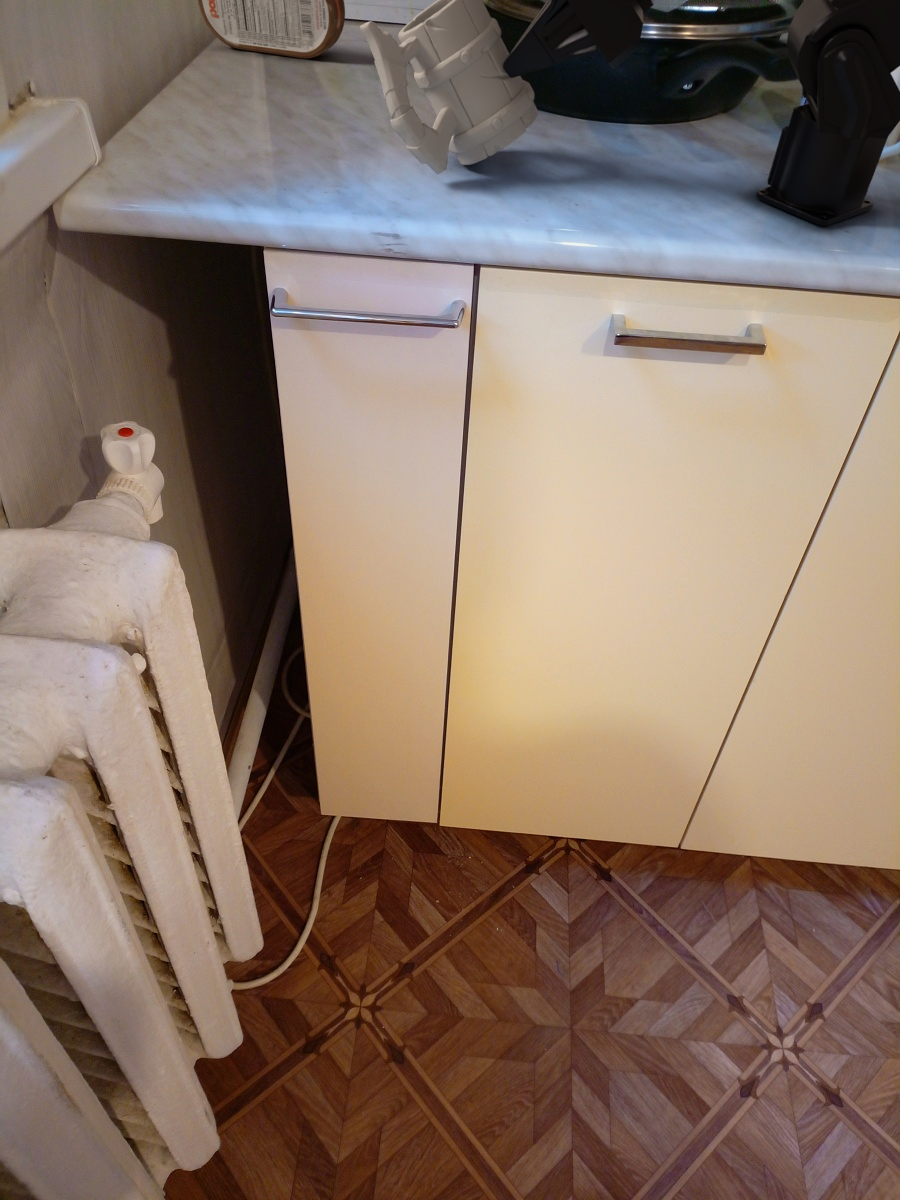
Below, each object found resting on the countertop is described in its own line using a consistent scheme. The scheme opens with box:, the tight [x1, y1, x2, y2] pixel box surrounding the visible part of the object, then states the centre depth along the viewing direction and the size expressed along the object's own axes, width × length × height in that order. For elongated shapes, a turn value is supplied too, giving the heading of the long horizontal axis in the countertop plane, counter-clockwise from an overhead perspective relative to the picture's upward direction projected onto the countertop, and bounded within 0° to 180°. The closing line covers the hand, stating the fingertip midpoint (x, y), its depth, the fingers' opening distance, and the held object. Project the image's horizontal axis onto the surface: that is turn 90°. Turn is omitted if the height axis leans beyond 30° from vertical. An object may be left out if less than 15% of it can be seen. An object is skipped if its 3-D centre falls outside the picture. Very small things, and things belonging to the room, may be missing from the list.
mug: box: [359, 0, 539, 175], centre depth 64 cm, size 8×12×12 cm
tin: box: [197, 0, 346, 59], centre depth 85 cm, size 15×3×8 cm, turn 74°
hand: (506, 71), depth 63 cm, fingers closed
